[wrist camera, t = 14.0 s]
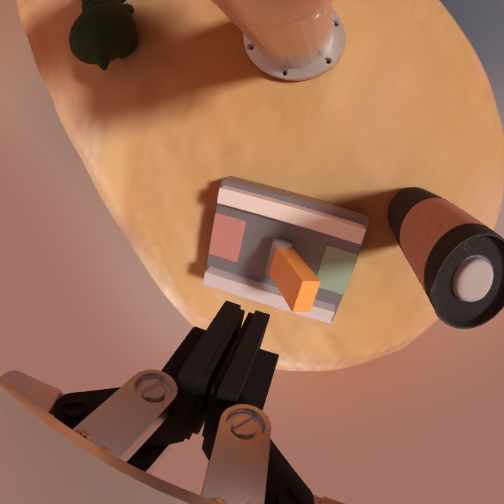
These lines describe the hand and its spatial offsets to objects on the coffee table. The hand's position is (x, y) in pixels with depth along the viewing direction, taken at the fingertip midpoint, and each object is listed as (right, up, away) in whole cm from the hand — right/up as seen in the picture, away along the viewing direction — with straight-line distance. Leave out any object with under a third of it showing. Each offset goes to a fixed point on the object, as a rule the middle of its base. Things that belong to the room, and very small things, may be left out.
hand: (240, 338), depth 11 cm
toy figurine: (-20, +40, +23) cm, 50 cm away
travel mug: (+21, +8, +24) cm, 33 cm away
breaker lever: (+3, +3, +26) cm, 26 cm away
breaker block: (+5, +4, +29) cm, 30 cm away
